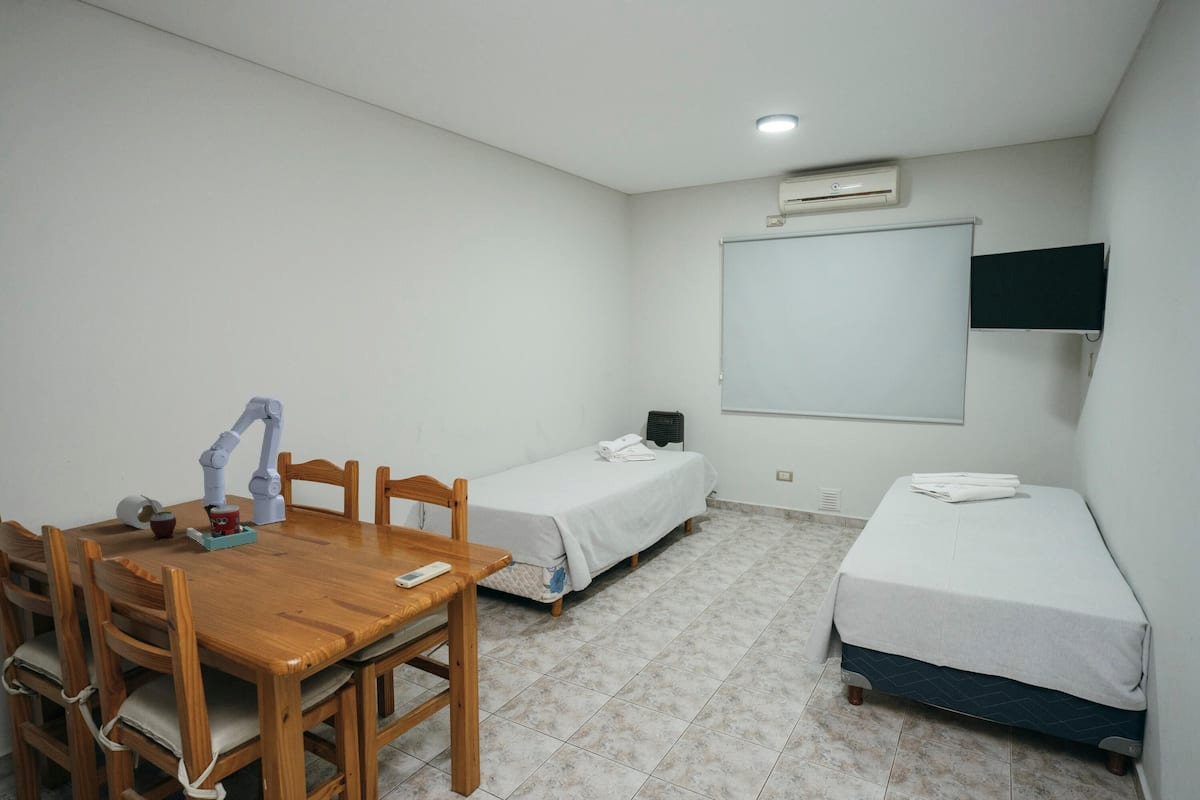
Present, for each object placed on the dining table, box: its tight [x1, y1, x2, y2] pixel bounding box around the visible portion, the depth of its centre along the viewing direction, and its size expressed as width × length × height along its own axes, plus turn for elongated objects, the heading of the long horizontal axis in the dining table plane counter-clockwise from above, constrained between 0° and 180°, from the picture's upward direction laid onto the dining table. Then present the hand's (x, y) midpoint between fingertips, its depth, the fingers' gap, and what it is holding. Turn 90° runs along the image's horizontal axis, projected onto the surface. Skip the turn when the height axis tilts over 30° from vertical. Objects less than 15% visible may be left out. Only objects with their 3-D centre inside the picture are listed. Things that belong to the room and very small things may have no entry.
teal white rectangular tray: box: [186, 525, 258, 550], centre depth 215 cm, size 14×22×4 cm, turn 48°
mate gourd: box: [140, 494, 177, 542], centre depth 214 cm, size 8×8×15 cm
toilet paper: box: [115, 494, 164, 530], centre depth 227 cm, size 10×10×10 cm
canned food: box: [210, 504, 241, 538], centre depth 212 cm, size 8×8×11 cm
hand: (215, 527), depth 218 cm, fingers closed
